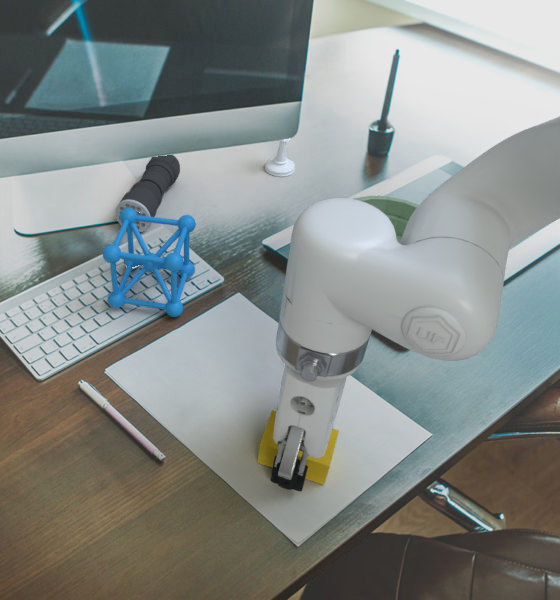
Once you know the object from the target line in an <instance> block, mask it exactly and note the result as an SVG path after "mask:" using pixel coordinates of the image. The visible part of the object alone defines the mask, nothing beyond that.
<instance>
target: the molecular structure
mask: <svg viewBox="0 0 560 600" xmlns="http://www.w3.org/2000/svg"><path fill="white" fill-rule="evenodd" d="M120 220H121V222H122V223H123V224H122V226H121V225H120V228H119V230H118V232H117V235H116V237H115V239H114V241H113V243H110V244H108V245H106V246H105V247H104V248H103V249H102V253H101V254H102V259H103V260H104V261H105V262H107V263H108V264H109V268H110V277H111V287H112V291H111V292H110V293H109V294H108V296H107V304H108V303H109V304H108V305H109V306H110V305H111V306H112V307H114V308H113V309H120V308H119V307H121V306H122V307H123V306H124V305H125V304H126V305H132V306H139V307H145V308H152V309H159V310H165V313H166V314H167V315H168V316H169V317H171V318H178V317H180V316H181V315H182V314H183V312H184V304H183V302H182V301H181V298H182V294H183V291H184V289H185V288H184V287H185V284H186V281H187V279H188V278H187V277H189V278H191V277H193V276H194V274H195V273H196V267H195V266H196V265H194V263H193V262H191V261H190V233H192V232H193V231H194V230H195V228H196V225H197V222H196V219H195V218H194V217H193V216H192V215H189V214H184V215H181V216H180V217H179V219H173V218H164V217H156V216H155V217H149V216H141V215H137V213H136V211H135V210H134V209H132V208H125V209H124V210H122V212H121V213H120ZM136 221H143V222H151V223H152V224H160V225H168V226H176V227H177V228H178V229H177V230H176V231H175V232H173V234H172V235H171V236H170V237H169V238H168V239H167V241H166V242H164V243H163V245H162V246H161V247H160V248H159V249H158V250H157V251H155V253H153V252H150V250H149V248H148V246H147V245H146V242H145V240H144V238H143V236H142V234H141V232H139V230H138V228H137V226H136V224H135V223H136ZM151 223H150V224H151ZM125 233H126V236H127V251H128V252H125V251H124V252H122V250H121V248H120V244H121V242H122V240H123V238H124V235H125ZM134 237H135V238H136V241H137V243H138V245H139V247H140V248H141V251H142V253H143V254H139V253H135V248H134V247H135V246H134ZM176 240H177V242H176V245H175V248H174V251H173V252H170V253H169V252H168V253H167V255H166V256H165V257H162V255H164V253H165V252H166V251H167V250H168V249H169V248H170V247H171V246H172V245H173V244H174V243H175V241H176ZM182 249H183V256H182V255H181V251H182ZM120 260H123V265H124V264H126V265H127V268H126V267H125V271H124V273H123V275H122V278H121V280H120V283H119V281H118V271H117V270H118V269H117V263H118V262H119V261H120ZM138 265H143V266H141V269H139V270H138V272H137V273H136V274H135V275H134V276H133V277H132V278H131V279H130V280H129V277H130V275H131V273H132V270H131V269H132V267H135V266H138ZM159 269H160V270H167V271H168V272H170V290H169V288H168V286H167V284H166V282H165V281H164V278H163V276H162V274H161V272H160V270H159ZM148 271H149V272H152V273H153V275H154V277H155V279H156V281H157V283H158V285H159V287H160V290H161V291H162V293H163V295H164V297H165V299H166V303H161V302H155V301H148V300H142V299H135V298H128V297H126V294H127V293H128V292H129V291H130V290H131V289H132V288H133V287H134V286H135V284H137V282H138V281H139V280H140V279H141V278H142V277H143V276H144V275H145V274H146V273H147V272H148ZM130 272H131V273H130ZM178 274H179V276H180V275H181V276H180V280H179V282H178ZM127 279H128V280H129V282H128V280H127ZM111 306H110V307H111ZM112 307H111V308H112ZM122 307H121V308H122Z"/></svg>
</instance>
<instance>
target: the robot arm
mask: <svg viewBox="0 0 560 600" xmlns="http://www.w3.org/2000/svg"><path fill="white" fill-rule="evenodd" d="M418 205H419V206H418V207H417V208H416V210H415V211H414V212H413V214H412V215H411V217H410V219H409V221H408V223H407V225H406V228H405V230H404V233H403V236H402V238H401V241H400V243H398V241H397V238H396V233H395V229H394V226H393V224H392V223H391V221H390V219H389V218H388V217H387V216H386V215H385V214H384V213H383V212H382V211H380V210H379V209H377V208H376V207H374V206H372V205H370V204H368V203H365V202H362V201H359V200H354V198H349V197H347V198H346V197H333V198H327V199H322V200H319V201H316V202H314V203H311V204H310V205H309V206H307V207H306V208H304V209H303V210H302V212H301V213H299V214H298V216H297V218H296V219H295V222H294V224H293V227H292V232H291V236H290V243H289V250H288V251H289V252H288V257H287V263H286V269H285V270H286V271H285V276H284V284H283V289H282V298H281V304H280V312H279V318H278V324H277V330H276V331H277V332H276V337H275V349H276V353H277V355H278V356H279V358H280V361H282V363H283V364H284V367H283V372H282V377H281V382H280V388H279V393H278V400H277V407H276V410H275V411H276V418H275V425H274V433H273V439H274V441H275V443H276V445H278V444H280V445H279V449H278V453H277V456H276V455H275V458H274V463H273V468H272V467H271V473H270V474H271V475H270V482H271V483H273V484H276V485H278V487H280V488H282V489H283V490H284V489H285V490H287V491H292V490H294V491H296V492H302V491H303V488H304V485H305V481H306V479H305V477H306V473H307V469H308V466H307V465H306V462H307V458H308V455H309V456H310V457H314V458H317V459H319V458H321V457H322V456H324V454H325V452H326V449H327V445H328V442H329V438H330V435H331V431H332V429H334V425H335V421H336V419H337V418H336V417H337V413H338V411H339V408H340V407H339V406H340V403H341V399H342V396H343V393H344V389H345V385H346V383H347V381H346V380H347V378H348V377H350V376H352V375H353V374H354V373H355V372H357V371H358V369H360V367H361V365H362V364H363V362H364V358H365V355H366V351H367V348H368V344H369V342H370V339H371V335H372V331H374V332H375V333H377V334H380V335H381V336H383V337H385V338H386V339H389V340H390V341H391V342H394V343H396V344H397V345H399V346H401V347H402V348H405V349H407V350H409V351H412V352H414V353H416V354H418V355H420V356H423V357H427V358H430V359H432V360H433V359H434V360H439V361H443V362H444V361H446V362H458V361H459V362H460V361H464V360H469V359H470V358H474V357H475V356H477V355H478V354H480V353H482V352H483V351H484V350H485V349H486V348H487V347H488V346H489V345H490V343H491V341H492V339H493V338H494V336H495V333H496V331H497V328H498V323H499V319H500V312H501V305H502V297H503V292H504V291H503V290H504V285H505V275H506V269H507V262H508V255H509V251H510V249H512V248H513V247H515V246H516V245H518V244H519V243H521V242H522V241H524V240H525V239H527V238H528V237H530V236H532V235H533V234H536V233H537V232H538V231H540V230H542V229H543V228H545V227H547V226H548V225H550V224H552V223H554V222H556V221H558V220H559V219H560V115H559V116H557V117H554V118H552V119H549V120H547V121H545V122H542V123H539V124H536V125H533V126H531V127H528V128H526V129H523V130H521V131H518V132H516V133H514V134H512V135H511V136H508V137H507V138H505V139H503V140H501V141H500V142H498V143H496V144H495V145H493V146H492V147H490V148H489V149H488V150H487V149H486V151H485V152H483V153H481V154H480V155H478V156H477V157H476V158H475V159H473V160H472V161H470V162H469V163H468V164H467V165H464V167H462V168H461V169H460V170H458V171H457V172H455V173H454V174H453V175H451V177H449V178H448V179H446V180H445V181H444V182H442V183H441V184H440V185H439V186H437V187H436V188H435V189H433V191H431V192H430V193H429V194H427V196H426V197H425V198H424V199H423V200H422V201H421V202H420V203H419V204H418ZM287 434H289V435H287ZM303 436H305V437H304V440H302V439H303ZM299 450H300V451H303V453H302V457H301V460H298V459H297V457H298V453H299Z"/></svg>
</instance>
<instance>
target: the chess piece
mask: <svg viewBox="0 0 560 600" xmlns="http://www.w3.org/2000/svg"><path fill="white" fill-rule="evenodd" d="M277 141H278V142H279V145H278V149H277V153H276V156H275V157H272V158H270V159H268V160H267V161H266V162H265V165H264V170H265V172H266V173H267V174H269V175H271V176H273V177H279V178H281V177H284V178H285V177H287V176H288V177H289V176H291V175H293V174H294V173H295V171H296V165H295V162H294V161H293V160H291V159H289V158H288V157H287V143H288V142H290V141H291V137H290V138H289V139H284V140H277Z"/></svg>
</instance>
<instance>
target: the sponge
mask: <svg viewBox="0 0 560 600" xmlns="http://www.w3.org/2000/svg"><path fill="white" fill-rule="evenodd" d="M276 411H277V410H273V409H272V410H271V412H270V415H269V417H268V421H267V423H266V426H265V428H264V432H263V434H262V437H261V439H260V442H259V448H258V456H257V461H256V462H257V463H258V464H260V465H264V466H266V467H269V468H271V469H272V468H273V463H274V458H275V455H276V456H277V453H278V449H279V445H280V444H278V445H276V443H275V441H274V439H273V433H274V425H275V418H276ZM339 433H340V430H339V429H338V430H337V429H335V428H332V431H331V435H330V438H329V442H328V445H327V449H326V452H325V454H324V456H322V457H321V458H319V459H317V458H314V457H310V456H309V455H308V458H307V462H306V465H307V466H308V469H307V473H306V477H305V480H308V481H310V482H314V483H317V484H319V485H323V486H324V485H326V480H327V477H328V474H329V470H330V467H331V463H332V459H333V455H334V452H335V448H336V444H337V440H338V437H339ZM287 435H289V434H287ZM304 437H305V436H303V439H302V440H304ZM302 453H303V451H300V450H299V453H298V457H297V459H298V460H301V457H302Z"/></svg>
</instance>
